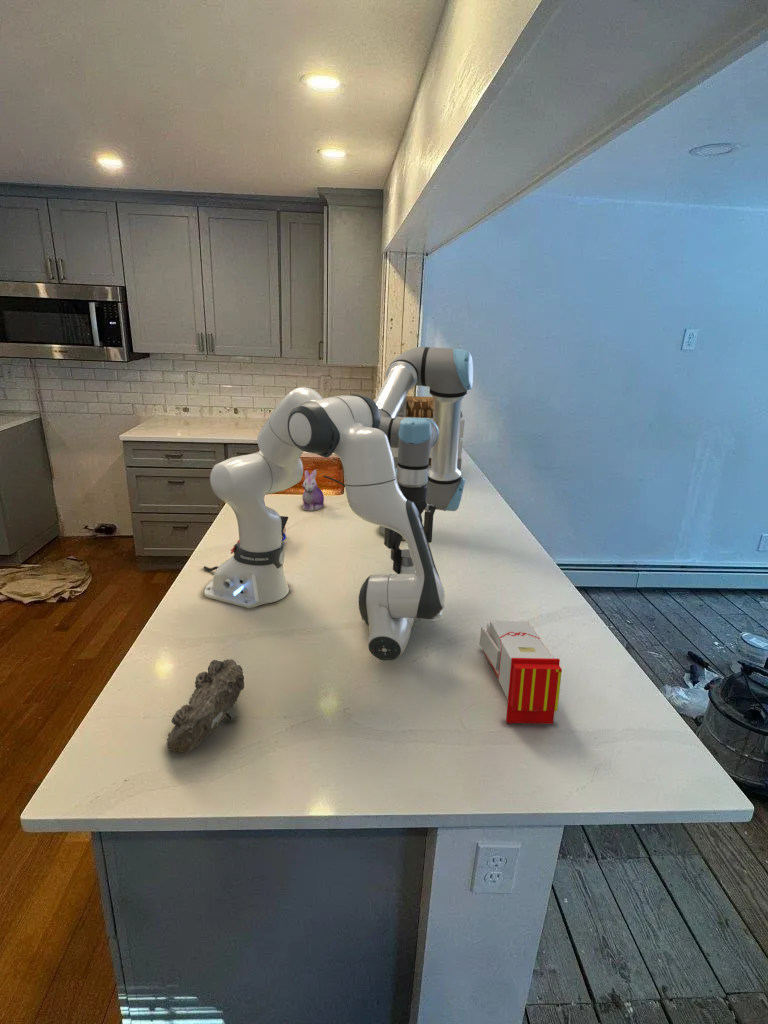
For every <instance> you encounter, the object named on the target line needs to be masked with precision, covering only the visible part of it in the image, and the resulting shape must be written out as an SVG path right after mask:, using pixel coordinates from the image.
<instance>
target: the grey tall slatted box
mask: <svg viewBox="0 0 768 1024" xmlns="http://www.w3.org/2000/svg"><path fill="white" fill-rule="evenodd" d="M433 412H434V398H433V397H432V396H415V395H414V396H413V395H412V396H411V395H407V396H406V398H405V400H404V402H403V404H402V406H401V408H400V411H399V413H398V415H397V417H396V418H398V419H405V418H428V419H431V420H433ZM464 429H465V419H464V418H463V411H461V415H460V430H459V444H458V459H457V469H459V470H460V472H461V473H462V461H463V460H462V453H463V442H464V441H463V440H462V439H463V438H464V431H465V430H464ZM391 450H392V454H393V458H394V463H395V468H397V464H398V448H392V447H391ZM431 457H432V448H431V449H430V453H429V466H428V467H431Z"/></svg>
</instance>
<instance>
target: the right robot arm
mask: <svg viewBox="0 0 768 1024" xmlns="http://www.w3.org/2000/svg"><path fill="white" fill-rule="evenodd" d="M473 384H474V363H473V357H472V354H471V352H470V351H469V350H467V349H459V348H456V347H455V348H453V347H431V346H430V347H427V346H418V347H413V348H410V349H408V350H406V351H404V352H402V353H400V354H399V355H398V356H396V357H395V358H394V359H393V360H392V361H391V363H390V364H389V365H388V367H387V369H386V373H385V380H384V382H383V383H382V385H381V388H380V389H379V391H378V393H377V394H376V397H375V398H374V400H373V401H374V402H375V403H376V405H377V406H378V409H379V411H380V417H381V421H380V426H379V430H381V431H383V432H384V433H385V434H386V436H387V437H388V440H389V443H390V446H391V447H392V448H398V464H397V468H396V475H397V481H398V485H399V488H400V490H401V492H402V494H403V495H404V496H405V498H406V499H407V500H409V501H411V502H413V503H414V504H415V506H416V508H417V510H418V512H419V514H420V517H421V520H422V521H423V526H424V530H425V533H426V536H427V540H428V543H429V544H431V543H432V541H433V529H434V515H435V512H436V510H437V511H443V512H456V511H457V510H458V509H459V508H460V504H461V501H462V498H463V497H462V496H463V493H464V488H465V484H466V478H465V477H462V471H461V472H460V470H459V469H457V459H458V444H459V430H460V415H461V412H462V401H463V399H465V397H466V396H467V395H468V391H470V390H472V389H473ZM416 386H417V387H418V386H419V387H420V386H421V387H429V395H430V397H433V398H434V412H433V420H431V419H428V418H405V419H398V418H396V417H397V415H398V413H399V411H400V408H401V406H402V404H403V402H404V400H405V398H406V396H408V394H409V392H410V391H411V390H412V389H414V388H415V387H416ZM431 448H432V457H431V465H430V466H429V453H430V449H431ZM323 478H325V479H328V480H331V481H333V482H335V483H338V484H339V485H341V486H343V487H344V488H345V483H344V482H342V481H340V480H337V479H335V478H333V477H330V476H327V475H323ZM423 512H424V515H422V514H423ZM423 516H424V517H423ZM378 533H379V534H380V535H381V536H382V537H384V539H383V545H384V546H385V547H386V548H388V550H390V559H391V560H390V561H392V571H393V572H395V574H400V569H401V552H402V550H403V549H401V547H400V546H401V542H402V541H406V540H405V539H404V537H403V536H401V535H400V534H399V533H397V532H395V531H393V530H391V529H389V528H386V527H383V526H379V525H378Z"/></svg>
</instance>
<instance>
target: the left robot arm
mask: <svg viewBox="0 0 768 1024" xmlns="http://www.w3.org/2000/svg"><path fill="white" fill-rule="evenodd" d="M380 421H381V417H380V411H379V409H378V406H377V405H376V403H375V402H374V400H373V399H372V398H370V397H369V396H367V395H363V394H357V393H356V394H355V393H353V394H351V393H350V394H347V395H346V394H345V395H333V396H329V397H323V396H322V395H321V394H320V393H319V392H317V391H316V390H314V389H313V388H311V387H306V386H299V387H296V388H294V389H292V390H290V392H289V393H287V395H285V396H284V397H283V398H282V399H281V400H280V402H279V403H278V404H277V405H276V406H275V408H274V409H273V411H272V412H271V414H270V415H269V417H268V418H267V419H266V421H265V423H264V424H263V426H262V427H261V428H260V430H259V432H258V434H257V440H256V441H257V447H258V450H259V451H256V452H253V453H249V454H243V455H238V456H232V457H230V458H227V459H225V460H223V461H220V462H218V463H216V464H214V465H213V467H212V468H211V471H210V475H209V484H210V488H211V490H212V492H213V494H214V495H215V497H216V498H218V499H219V500H221V501H223V502H224V503H226V504H227V505H228V506H229V507H230V508H231V509H232V512H234V514H235V518H236V521H237V527H238V528H237V529H238V540H237V542H236V543H235V544H234V545H233V547H231V549H230V554H231V555H232V554H233V555H232V556H230V557H229V558H228V559H226V560H225V561H223V562H222V563H221V564H220V565H218V566H213V567H207V566H206V565H204V566H203V570H206V571H208V572H213V571H214V573H213V577H212V579H211V580H210V581H209V583H207V584H206V586H205V588H204V592H203V595H204V597H205V598H208V599H212V600H216V601H219V602H223V603H227V604H231V605H236V606H238V607H243V608H247V609H253V608H256V607H258V606H261V605H268V604H271V603H275V602H279V601H280V600H283V599H285V597H287V595H288V594H289V592H290V589H289V586H288V583H287V579H286V575H285V569H284V568H285V567H284V563H285V548H284V541H283V542H282V525H281V517H280V516H281V515H280V514H279V512H277V511H276V509H273V508H272V507H269V506H266V502H265V496H267V495H272V494H275V493H278V492H283V491H286V490H288V489H290V488H292V487H294V486H295V485H297V484H298V483H300V482H301V481H302V479H303V476H304V464H303V461H302V459H301V458H300V457H301V456H302V455H303V453H304V452H305V453H310V454H314V455H318V456H320V457H322V458H329V457H331V456H332V455H333V454H334V455H335V456H336V457H338V459H339V460H340V463H341V465H342V470H343V478H344V479H343V480H344V484H345V487H344V489H345V495H346V499H347V502H348V505H349V508H350V509H351V511H352V512H353V513H354V514H355V515H356V516H357V517H358V518H360V519H362V520H363V521H365V522H368V523H370V524H373V525H376V526H378V527H379V526H383V527H386V528H389V529H391V530H393V531H395V532H397V533H399V534H400V535H401V536H403V537H404V539H405V540H404V541H405V543H406V545H407V547H408V549H409V551H410V554H411V558H412V561H413V564H414V568H415V573H409V574H397V573H381V574H370V575H369V576H368V577H366V579H365V580H364V581H363V583H362V584H361V587H360V589H359V593H358V609H359V610H358V611H359V614H360V616H361V620H362V621H363V622H364V623H365V625H366V626H367V627H368V637H367V648H368V651H369V653H370V654H371V655H372V656H373V657H374V658H376V659H378V660H380V661H394V660H396V659H398V658H400V657H401V656H402V655H403V653H404V651H405V650H406V648H407V645H408V643H409V640H410V638H411V633H412V628H413V625H414V623H415V619H420V620H421V619H422V620H429V621H432V620H435V619H439V618H441V616H442V611H443V609H444V608H445V601H446V594H445V589H444V586H443V583H442V580H441V577H440V575H439V573H438V570H437V567H436V564H435V560H434V558H433V553H432V551H431V547H430V543H428V540H427V536H426V533H425V530H424V522H423V519H422V520H421V517H420V514H419V512H418V510H417V508H416V506H415V504H414V503H413V502H411V501H409V500H407V499H406V498H405V496H404V495H403V494H402V492H401V490H400V488H399V485H398V481H397V475H396V468H395V463H394V458H393V454H392V450H391V446H390V443H389V440H388V437H387V436H386V434H385V433H384V432H383V431H381V430H379V426H380Z"/></svg>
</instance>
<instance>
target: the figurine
mask: <svg viewBox="0 0 768 1024" xmlns="http://www.w3.org/2000/svg"><path fill="white" fill-rule="evenodd" d="M316 478H317V469H313V470H312V472H311V473H310V472H309V470H308V469H306V470H304V480H303V483H302V489H303V490H304V492H303V493H302V503H303V504H302V509H303V510H304V511H317V510H321V509H322V508H323V507H324V502H325V497H324V492H323V490H322V489H321V488H319V487H318V483H317V480H316Z"/></svg>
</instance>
